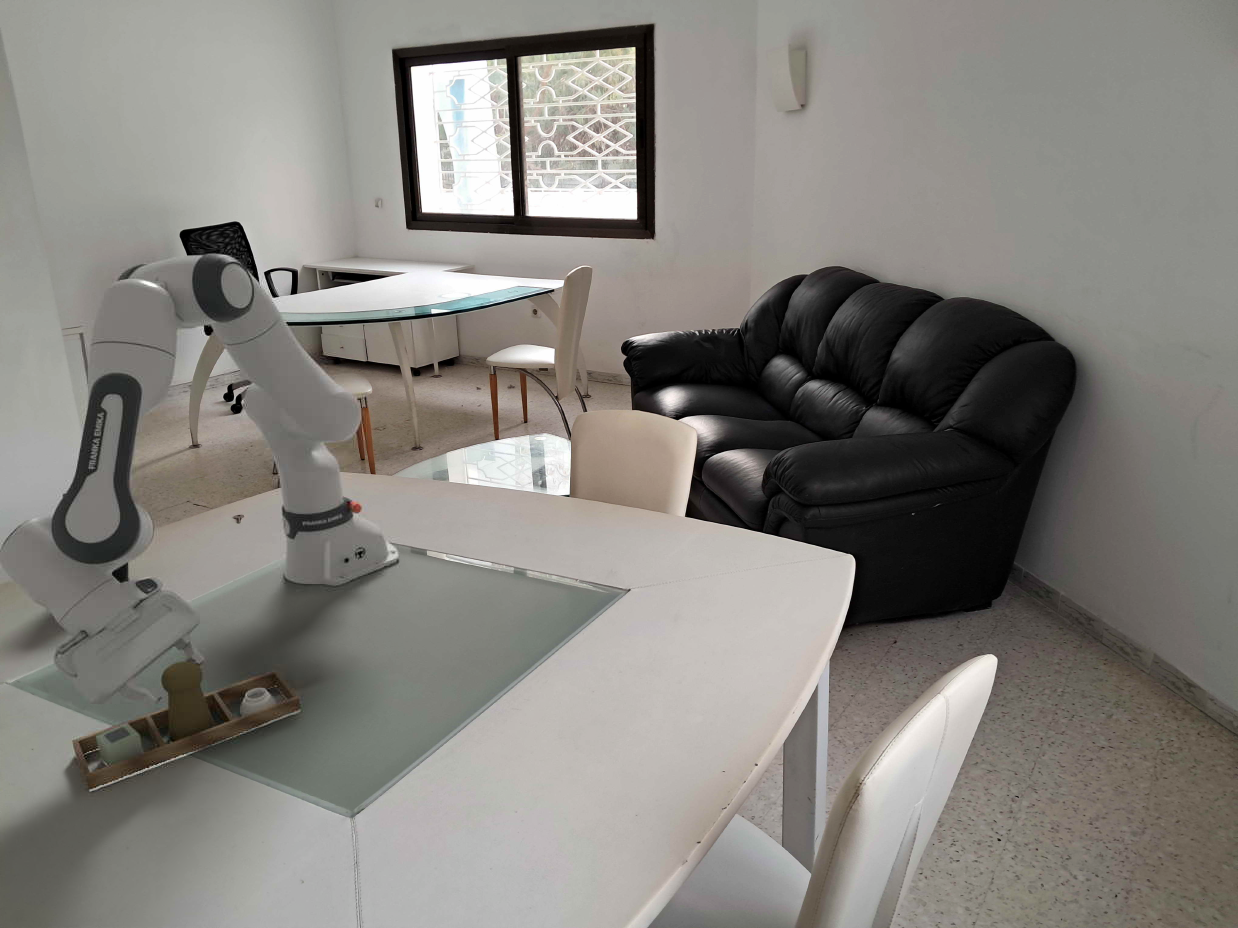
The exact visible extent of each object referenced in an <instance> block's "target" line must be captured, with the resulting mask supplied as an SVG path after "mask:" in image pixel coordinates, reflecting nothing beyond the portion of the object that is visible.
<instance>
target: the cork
mask: <svg viewBox="0 0 1238 928" xmlns="http://www.w3.org/2000/svg"><path fill="white" fill-rule="evenodd" d="M203 676H204V675H203V670H202V668H201V665H200V666H199V665H198V664H196V663H195V662H191V661H187V660H183V661H178V662H175V663H173V664H171V665H169V666H168V667H166V668H165V669H164V671H163V673H162V675H161V678H160V679H161V680H160V681H161V685H162V688H163V689H164V691H165V692H167V698H168V699H167V700H168V701H167V704H168V710H169V725H168V738H169V742H170V741H171V742H175V741H177V740H180V739H183V738H185V737H188V736H191V735H193V734H196V733H199V732H202V731H204V730H207V729H210V728H212V727H215V726H216V725H215V722H214V721H213V717H212V715H211V710H209V708H208V706H207V703H206V700H205V697H204V695H205V694H204V692H203V689H202V686H201V684H202V681H203ZM171 742H170V743H171Z"/></svg>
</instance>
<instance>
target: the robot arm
mask: <svg viewBox="0 0 1238 928" xmlns="http://www.w3.org/2000/svg"><path fill="white" fill-rule="evenodd" d="M99 303H100V304H99V307H98V310H97V313H96V317H95V321H94V324H93V328H92V334H91V338H90V340H91V341H90V347H89V355H88V366H87V367H88V368H87V408H86V409H87V410H86V415H85V421H84V424H83V430H82V436H81V442H80V448H79V451H78V452H79V453H78V458H77V465H76V469H75V473H74V476H73V479H72V482H71V484H70V486H69V488H68V489H67V491H66V492H65V493H66V494H65V493H64V494H65V495H64V497H63V496H62V498H61V500H60V501H59V503H58V504H57V506H56V508H55V510H54V513H53V514H52V515H46V516H45V515H44V516H34V517H31V518H29V519H27V520H25V521H24V522H23V523H21V524H20V525H18V526H17V527H16V528H15V529H14V530H13V531H11V533H10V534H9V535H8V537H7V538H6V539H5V541H3V544H2V546H1V548H0V566H1V568H2V570H3V571H4V573H5V574H6V575H7V576H8V578H10V580H11V581H12V582H13V583H14V584H15V585H16V587H18V588H19V589H20V590H21V591H22V592H23V593H24V594H25V595H26V596H27V597H28V598H29V599H31V600H32V601H33V602H34V603H35V604H37V605H38V606H41V607H43V608H45V609H46V610H48V611H49V612H50V613H51V614H52V616H53V617H54V619H55V621H56V622H57V623H58V625H60V626H61V627H62V628H63V629H64V630H65V631H67V632H68V634H70V636H72V637H71V638H70V639H69V640H67V641H66V642H65V643H61V644H60V645H59V646H58V647H57V648H56V649H55V653H54V655H53V664H54V666H55V667H56V668H58V669H59V671H61V672H62V673H64V675H65V676H66V677H67V679H68V680H69V681H70V683H71V684H72V685H73V687H74V688H75V689H76V690H77V691H78V692H79V693H80V694H81V695H82V696H83V698H85V699H86V700H87V701H88V702H89V703H91V704H96V705H102V704H103V703H105V702H106V701H108V700H109V699H110V698H112V696H114V695H115V694H116V693H119V694H120V695H121V696H122V697H124V698H127V699H131V700H135V701H140V702H141V703H142V704H144V706H146V707H147V708H149V709H151V708H153V707H154V706H155V705H157V703H158V702H160V700H162V698H163V695H162V694H161V693H160V692H158V690H157V689H156V688H155V687H152V688H151V689H150V690H149V689H147V688H144V687H141V686H138V684H139V682H138V681H137V680H136V679H135V678H136V677H137V676H139V675H140V674H141V673H142V672H144V671H145V670H146V669H148V668H149V667H150V666H151V665H153V664H154V663H155V662H156V661H157V660H159V659H160V658H161V657H162V656H164V655H165V654H166V653H167V652H169V651H170V650H171V649H173V647H175V648H176V650H177V651H180V652H181V651H183V653H184V656H185V657H186V661H191V662H195V663H196V664H198V665H199V666H200V667H201V665H202V664H203V663H204V662H205V661H206V660H205V657H204V656H203V655H202V654H201V653H200V652H198V648H197V646H196V643H195V639H194V638H193V637H192V636H191V635H190V634H191V633H192V632H194V630H195V629H196V628H197V627H198V626H199V625H200V623H201V619H200V616H199V613H198V612H197V611H196V609H194V608H193V607H192V606H191V605H190V604H189V603H188V602H187V601H186V600H185V599H184V598H182V597H181V596H180V595H179V594H177V593H175V592H174V591H172V590H170V589H166V588H163V586H164V584H163V582H162V580H161V579H160V578H158V577H157V576H154V575H152V576H146V577H143V578H139V579H134V580H129V581H127V582H122V583H120V582H119V581H118V580H116V579H115V578H114V577H113V576H112V572H113V571H114V570H116V569H118V568H120V567H121V566H123V565H125V564H126V563H128V564H129V563H130V562H131V561H134V560H135V559H138V557H140V556H142V554H143V553H145V551H147V549H148V547H150V545H151V543H152V541H153V539H154V533H155V526H154V522H153V521H154V520H153V518H152V516H151V514H150V513H149V512H148V511H147V509H146V508H144V507H143V506H142V505H140V504H139V503H137V502H135V501H134V498H133V494H132V490H131V478H132V472H133V471H132V470H133V465H134V457H135V451H136V445H137V438H138V433H139V429H140V427H141V425H142V422H143V421H144V420H145V418H146V417H147V416H148V415H149V414H150V413H152V412H154V411H155V410H157V409H159V408H160V407H161V406H162V405H163V404H165V402H166V400H167V398H168V396H169V395H168V394H169V392H170V389H171V385H172V382H173V379H174V374H175V367H176V366H175V365H176V357H177V343H178V341H177V340H178V336H177V335H178V334H177V333H178V330H186V329H189V330H190V329H195V328H197V327H205V326H209V325H210V327H211V328H212V330H213V331H214V333H215V334H216V336H217V338H218V340H219V342H220V343H221V344H222V346H223V347H224V349H225V350H226V351H227V353H228V355H229V356H230V358H231V359H232V360H233V362H234V364H235V365H236V367H237V368H238V369H239V371H240V373H241V374H242V375H243V377H245V379H247V380H248V381H250V382H251V383H250V384H249V386H248V388H247V389H246V391H245V395H244V400H243V405H244V411H245V413H246V415H247V417H248V418H249V419H250V420H251V422H253V423H254V424H255V425H256V427H257V428H258V429H259V431H260V432H261V434H262V436H263V438H264V441H266V444H267V447H268V449H269V450H270V453H271V456H272V458H273V460H274V462H275V466H276V468H277V472H278V473H277V474H278V477H279V483H280V489H281V496H282V498H281V499H282V503H283V505H282V506H281V515H282V516H281V522H282V527H283V532H284V535H285V537H286V544H285V545H286V549H285V550H286V552H285V554H286V555H285V562H284V568H283V576H284V578H285V579H286V580H287V581H290V582H292V583H295V584H301V585H328V586H334V587H335V586H336V587H338V586H341V584H342V585H344V584H346V583H345V582H347V581H349V580H352V579H354V578H356V577H358V576H361V577H363V576H362V575H363V574H366V573H368V572H371V571H373V570H375V569H378V568H380V567H382V566H385V565H387V564H390V563H392V562H394V561H396V560H398V559H399V560H400V555H399V551H398V549H397V548H396V546H394V545H393V544H392V543H390V542H389V541H387V540H386V538H385V535H384V533H383V531H382V530H381V529H380V527H379V526H378V525H376V524H375V523H373V522H372V521H370V520H368V519H366V518H364V517H363V516H360V515H358V514H360V513H361V511H362V510H363V509H362V508H363V506H362V504H360V503H358V502H357V501H354V500H352V499H350V498H348V497H346V496H343V490H342V481H341V470H340V465H339V463H338V460H337V459H336V457H335V456H334V455H333V454H332V453H331V452H330V451H329V449H328V448H327V447H326V444H327V443H328V444H330V443H342V442H346V441H348V440H349V439H351V438H352V437H353V436H354V435H355V434H356V432H357V431H358V429H359V427H360V425H361V420H362V408H361V404H360V402H359V400H358V399H357V397H356V396H355V395H354V394H353V393H351V392H349V391H348V390H346V389H344V388H343V387H342V386H341V385H340V384H338V383H337V382H336V381H334V379H332V377H331V376H329V374H328V373H326V371H325V370H324V369H323V368H322V367H321V366H320V365H319V364H318V363H317V362H316V361H315V360H314V359H313V358H312V357H311V355H310V354H308V353H307V351H306V350H305V349H304V348H303V346H302V345H301V344H300V343H299V341H298V340H297V338H296V337H295V335H294V333H293V332H292V330H291V328H290V327H289V325H288V324H287V322H286V320H285V319H284V317H283V315H282V314H281V313H280V310H279V309H278V307H277V306H276V304H275V302H274V301H273V300H272V298H271V296H270V295H269V294H268V293H267V291H266V290H265V289H264V287H263V286H262V285H261V284H260V282H259V281H258V280H257V279H256V278H255V277H254V276H253V275H252V274H251V272H250V271H249V270H248V269H247V268H246V267H245V266H244V265H243V264H242V262H240V261H239V260H238V259H236V257H233V256H230V255H227V254H221V253H206V254H203V255H201V254H200V255H182V256H181V255H179V256H173V257H170V258H168V259H162V260H158V261H154V262H150V263H147V262H146V263H140V264H137V265H134V266H131V267H130V268H128V269H127V270H125V271H123V272H122V273H121V275H120V276H119V277H118V279H117V281H115V282H113V283H112V284H110V285H109V286H108V287H107V288H106V289H105V291H104V294H103V296H102V299H101V300H100V302H99ZM325 443H326V444H325ZM378 570H379V569H378ZM371 573H372V572H371ZM366 575H367V574H366ZM356 579H357V578H356ZM354 580H355V579H354ZM352 581H353V580H352ZM349 582H350V581H349ZM343 583H344V584H343ZM347 583H348V582H347ZM337 585H338V586H337ZM162 588H163V589H162Z"/></svg>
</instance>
